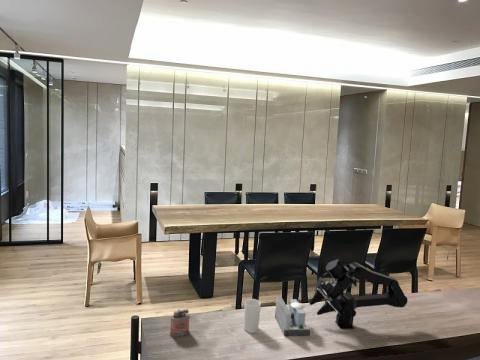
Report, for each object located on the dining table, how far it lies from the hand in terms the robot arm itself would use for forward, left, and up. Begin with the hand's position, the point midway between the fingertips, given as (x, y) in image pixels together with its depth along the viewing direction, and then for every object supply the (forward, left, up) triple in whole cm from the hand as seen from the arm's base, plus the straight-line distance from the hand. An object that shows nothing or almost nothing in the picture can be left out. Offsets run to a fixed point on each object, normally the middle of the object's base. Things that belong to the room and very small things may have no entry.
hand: (313, 309), depth 177 cm
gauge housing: (+10, 0, -8) cm, 12 cm away
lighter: (+58, +4, -8) cm, 58 cm away
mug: (+28, 0, -8) cm, 29 cm away
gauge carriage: (+7, +1, -7) cm, 11 cm away
